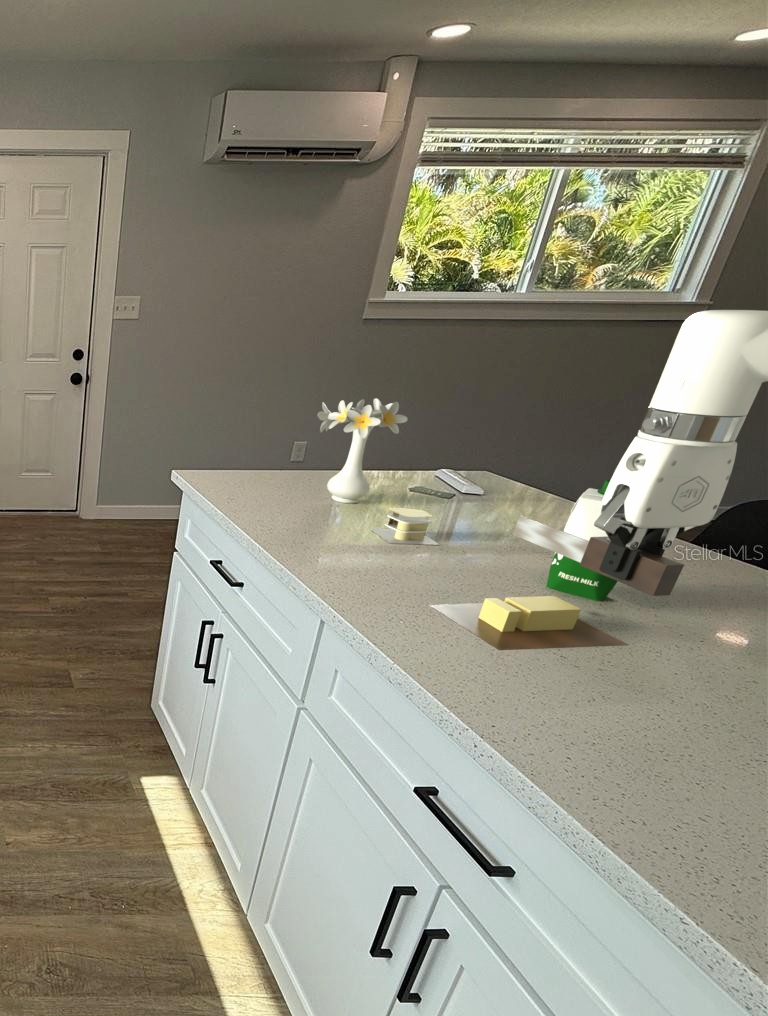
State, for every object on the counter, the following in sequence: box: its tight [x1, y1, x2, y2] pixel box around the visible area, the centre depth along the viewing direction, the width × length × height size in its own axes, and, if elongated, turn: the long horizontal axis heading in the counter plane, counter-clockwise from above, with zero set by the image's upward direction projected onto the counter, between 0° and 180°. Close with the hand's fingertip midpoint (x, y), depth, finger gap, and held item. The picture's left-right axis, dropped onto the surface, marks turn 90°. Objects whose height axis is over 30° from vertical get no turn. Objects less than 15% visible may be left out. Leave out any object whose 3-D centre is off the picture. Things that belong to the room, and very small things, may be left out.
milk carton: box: [545, 479, 633, 602], centre depth 106 cm, size 9×9×20 cm
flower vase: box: [317, 397, 409, 504], centre depth 154 cm, size 13×18×25 cm
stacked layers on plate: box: [369, 507, 441, 546], centre depth 135 cm, size 10×9×6 cm
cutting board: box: [428, 602, 629, 651], centre depth 98 cm, size 20×14×2 cm
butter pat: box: [479, 597, 522, 632], centre depth 97 cm, size 2×4×4 cm, turn 4°
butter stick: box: [503, 595, 582, 631], centre depth 98 cm, size 8×4×4 cm, turn 93°
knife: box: [512, 515, 685, 597], centre depth 83 cm, size 20×2×4 cm, turn 5°
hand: (624, 573), depth 78 cm, fingers closed on knife, 2 cm apart
